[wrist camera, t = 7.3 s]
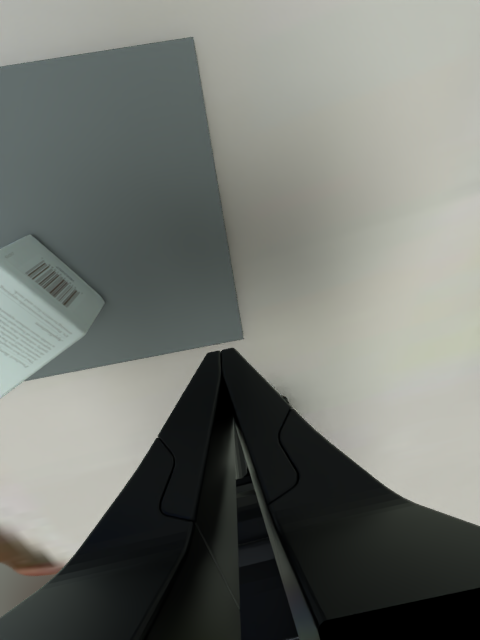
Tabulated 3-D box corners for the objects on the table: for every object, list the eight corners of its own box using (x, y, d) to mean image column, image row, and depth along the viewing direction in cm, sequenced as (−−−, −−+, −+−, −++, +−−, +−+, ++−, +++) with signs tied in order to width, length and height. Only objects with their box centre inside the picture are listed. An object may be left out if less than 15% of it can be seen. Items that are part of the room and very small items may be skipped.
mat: (243, 336, 23) (243, 339, 23) (-54, 393, 23) (-58, 396, 22) (193, 39, 14) (193, 36, 14) (-317, 118, 13) (-331, 117, 13)
